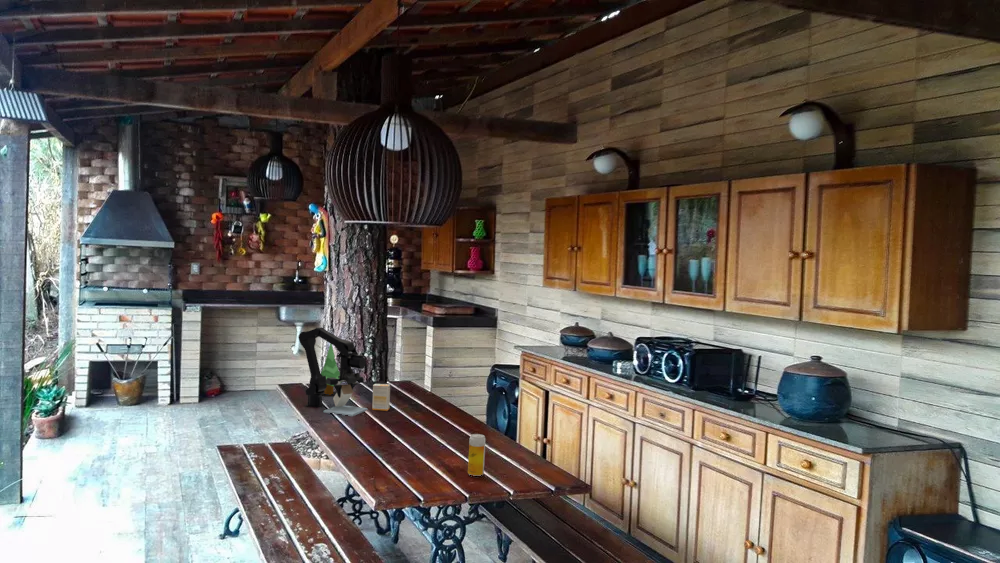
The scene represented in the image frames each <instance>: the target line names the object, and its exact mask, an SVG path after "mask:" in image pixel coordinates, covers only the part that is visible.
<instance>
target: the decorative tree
mask: <svg viewBox="0 0 1000 563" xmlns="http://www.w3.org/2000/svg"><path fill="white" fill-rule="evenodd" d="M335 357H336V355H335V352H334V348H333V345H332V344H331V343H329V348H328V350H327V354H326V358H325V361H324V362H325V363H324V365H323V367H322V370H321V371H320V373H321V375H322V376H326V379H327V378H332V377H334V378H336V379H339V378H338V376H340V370H339V367H338V365H337V361H336V359H335ZM341 383H343V382H340V384H341ZM334 389H335V387H334V385H329V384H327V387H326V389H325V391H324V393H325V394H329V395H328V396H332V395H331V394H333V395H334ZM324 393H323V394H324Z"/></svg>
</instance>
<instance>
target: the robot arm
mask: <svg viewBox="0 0 1000 563" xmlns="http://www.w3.org/2000/svg"><path fill="white" fill-rule="evenodd" d="M317 338H321V339H322V340H324V341H326V342H327V343H329V344H330V343H331V344H332V346H334V347H335V349H336V350H337V351H338V352H339V353H338V354H337V355H336V358H340V360H339V367H338V371H339V372H340V376H338V378H339V379H336V378H334V377H332V378H327V379H326V376H322V375H321V370H320V365H319V360H318V356H317V351H316V349H315V345H316V339H317ZM298 340H299V344H300V345H301V347H302V348H303V349H304V351H305V355H306V361H307V363H308V364H307V365H308V369H309V372H310V379H309V386H308V388H306V390H305V395H306V396H307V404H306V405H305V406H306V407H310V408H311V407H312V408H319V407H322V406H324V403H323V397H322V396H323V394H324V391H325V389H326V387H327V384H329V385H334V389H335V392H336V393H337V394H338V397H339V398H340V396H341V386H342V385H343V384H341V383H340V382H342V383H347V385H349V384H350V385H351V388H352V390H354V388H355V387H356V386H357V385H358V384H361V383H364V381H365V379H364V376H361V375H360V373H359V372H355V373H354V371H353V369H352V368H354V369H359V370H360V369H361V370H363V369H365V367H366V364H367V361H366V358H365V357H364V356H365V355H364V354H359V353H358V351H357V349H356V347H355V345H354V342H352V341H350V340H348V339H342V338H340V337H338V336H337V335H335V334H333V333H332V332H331V331H328V330H326V329H325V327H316V328H314V329H311V330H307V331H306V330H305V331H301V332H299V335H298Z"/></svg>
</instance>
